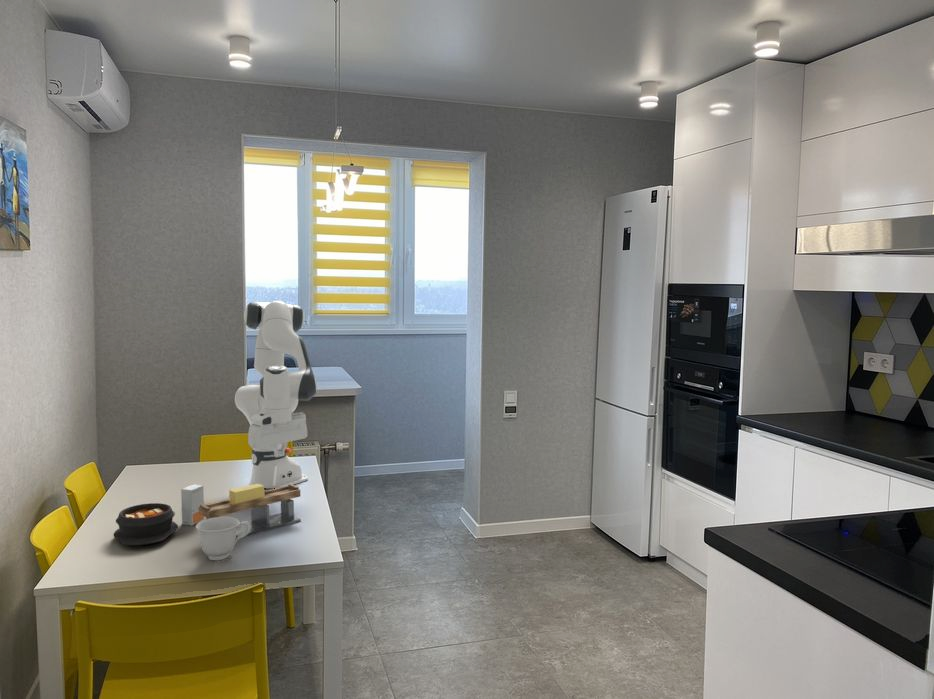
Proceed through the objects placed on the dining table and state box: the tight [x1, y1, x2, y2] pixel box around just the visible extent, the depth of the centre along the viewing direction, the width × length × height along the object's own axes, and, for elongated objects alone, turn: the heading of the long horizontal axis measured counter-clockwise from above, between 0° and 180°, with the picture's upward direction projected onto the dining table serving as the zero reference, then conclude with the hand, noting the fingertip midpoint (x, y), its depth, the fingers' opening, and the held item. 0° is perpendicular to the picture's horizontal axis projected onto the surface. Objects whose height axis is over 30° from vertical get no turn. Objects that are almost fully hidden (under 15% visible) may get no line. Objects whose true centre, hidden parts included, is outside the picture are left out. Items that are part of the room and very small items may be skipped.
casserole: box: [113, 502, 179, 546], centre depth 225 cm, size 25×19×8 cm
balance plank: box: [198, 484, 302, 519], centre depth 231 cm, size 32×7×3 cm, turn 135°
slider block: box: [228, 484, 265, 505], centre depth 230 cm, size 10×4×4 cm, turn 135°
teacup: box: [195, 516, 250, 561], centre depth 209 cm, size 12×15×10 cm
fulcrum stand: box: [205, 499, 302, 538], centre depth 232 cm, size 30×10×8 cm, turn 135°
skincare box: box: [180, 484, 205, 526], centre depth 237 cm, size 6×4×12 cm
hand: (279, 456), depth 237 cm, fingers closed
